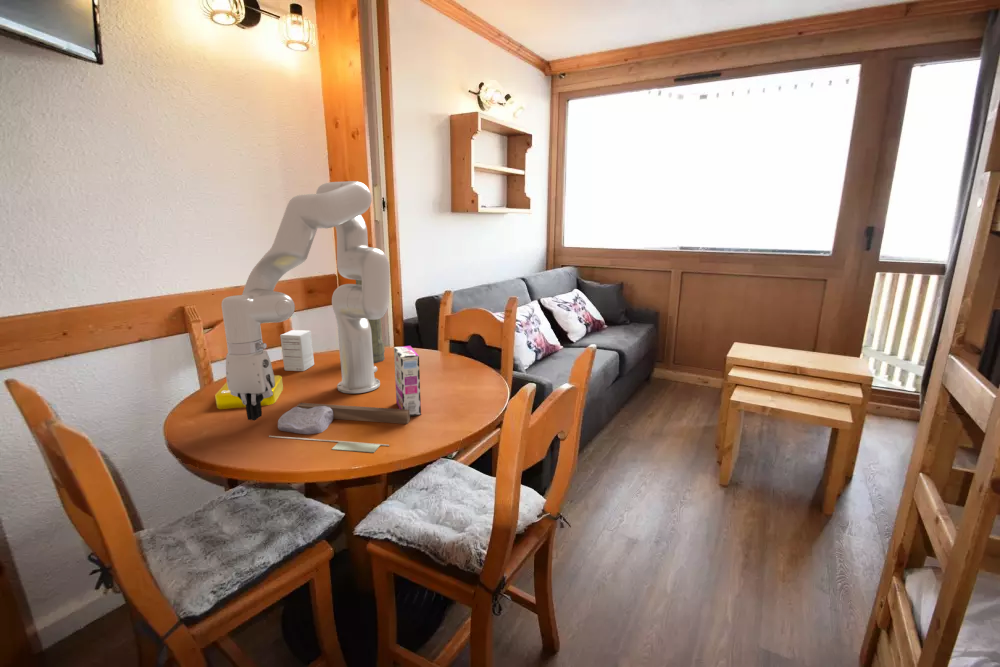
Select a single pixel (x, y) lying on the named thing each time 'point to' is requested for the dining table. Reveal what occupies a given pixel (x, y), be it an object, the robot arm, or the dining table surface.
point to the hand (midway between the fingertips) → (255, 417)
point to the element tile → (230, 401)
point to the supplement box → (297, 350)
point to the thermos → (376, 337)
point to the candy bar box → (407, 379)
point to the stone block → (306, 420)
